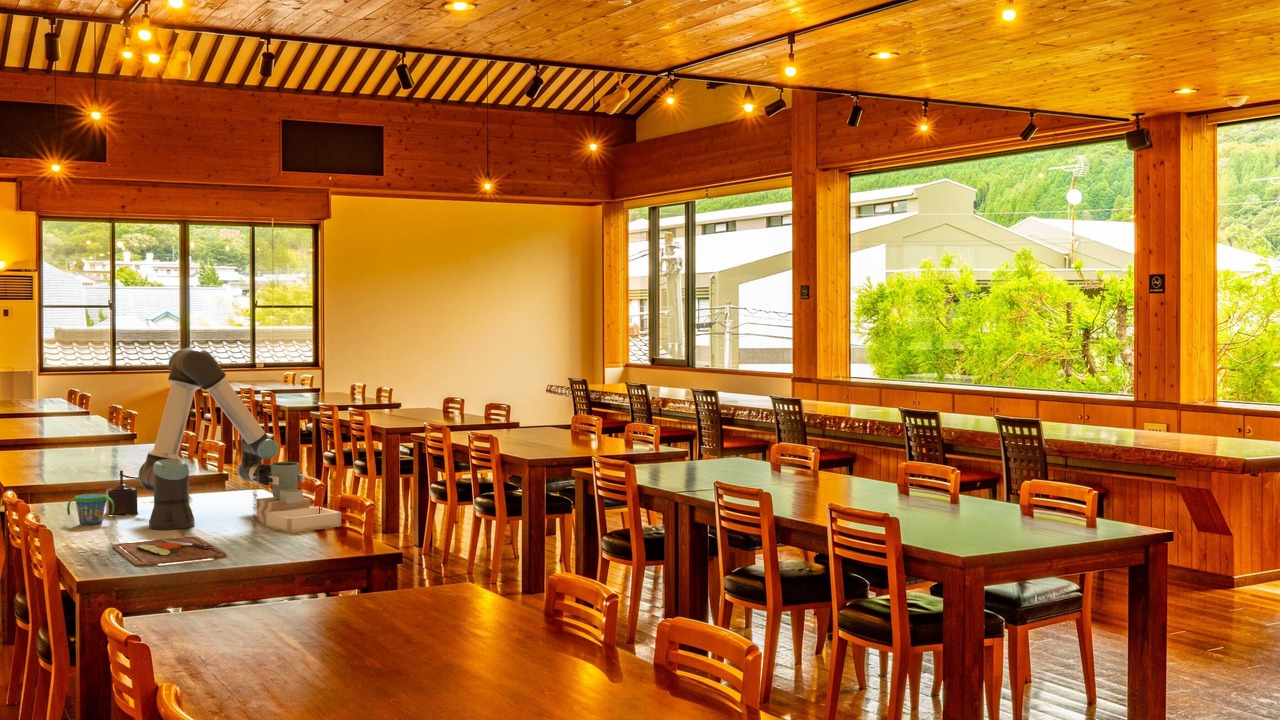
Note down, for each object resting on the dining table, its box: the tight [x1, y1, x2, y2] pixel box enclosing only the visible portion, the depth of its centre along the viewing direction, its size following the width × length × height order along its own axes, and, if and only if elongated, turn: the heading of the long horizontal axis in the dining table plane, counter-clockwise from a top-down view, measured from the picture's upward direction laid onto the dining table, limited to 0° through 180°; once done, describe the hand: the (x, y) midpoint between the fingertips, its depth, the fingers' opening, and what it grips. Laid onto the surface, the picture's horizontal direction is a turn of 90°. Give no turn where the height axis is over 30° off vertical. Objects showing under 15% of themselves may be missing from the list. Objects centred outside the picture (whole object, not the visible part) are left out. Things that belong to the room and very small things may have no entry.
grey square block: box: [280, 488, 303, 504], centre depth 430 cm, size 6×6×4 cm
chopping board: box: [112, 536, 227, 567], centre depth 378 cm, size 45×27×3 cm, turn 34°
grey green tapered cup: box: [270, 461, 300, 498], centre depth 436 cm, size 10×10×12 cm
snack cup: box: [66, 493, 114, 526], centre depth 431 cm, size 16×10×10 cm
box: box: [265, 506, 342, 534], centre depth 424 cm, size 18×20×5 cm
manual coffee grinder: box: [105, 470, 139, 516], centre depth 455 cm, size 16×11×18 cm
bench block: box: [255, 496, 311, 524], centre depth 436 cm, size 14×14×8 cm
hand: (290, 479), depth 433 cm, fingers closed on grey green tapered cup, 9 cm apart
